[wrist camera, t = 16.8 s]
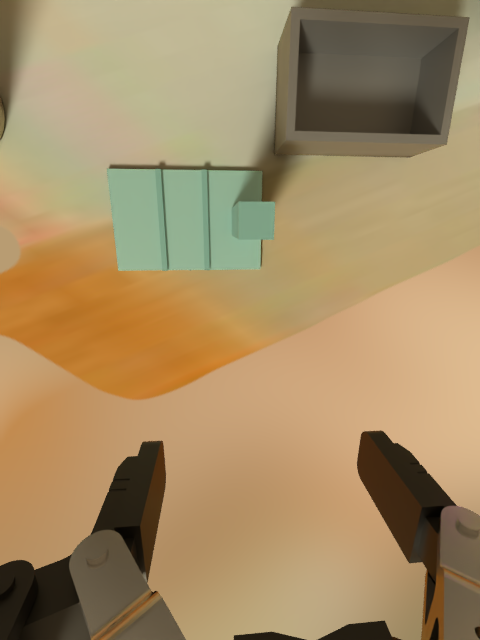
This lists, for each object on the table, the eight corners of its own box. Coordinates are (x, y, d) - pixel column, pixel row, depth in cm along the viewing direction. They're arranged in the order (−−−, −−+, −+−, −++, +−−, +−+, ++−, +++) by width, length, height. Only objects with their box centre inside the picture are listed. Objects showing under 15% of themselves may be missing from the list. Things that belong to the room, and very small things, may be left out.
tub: (274, 154, 35) (285, 140, 29) (277, 46, 32) (291, 6, 26) (409, 157, 36) (446, 144, 30) (425, 53, 33) (469, 17, 27)
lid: (120, 269, 37) (79, 288, 26) (109, 169, 34) (57, 142, 23) (259, 268, 39) (277, 285, 27) (261, 172, 35) (283, 147, 24)
